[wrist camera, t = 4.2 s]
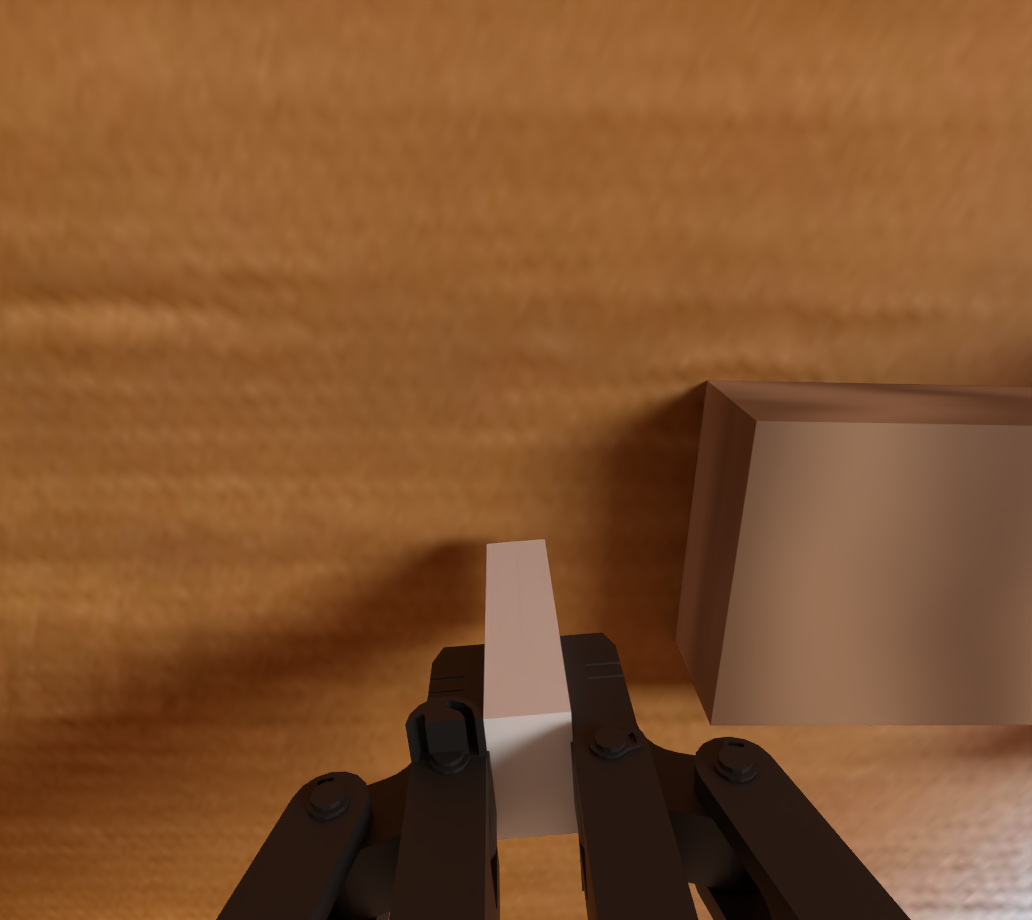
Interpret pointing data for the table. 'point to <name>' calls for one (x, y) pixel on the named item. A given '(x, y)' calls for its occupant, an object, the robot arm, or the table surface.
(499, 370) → the table surface
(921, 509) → the walnut slab
